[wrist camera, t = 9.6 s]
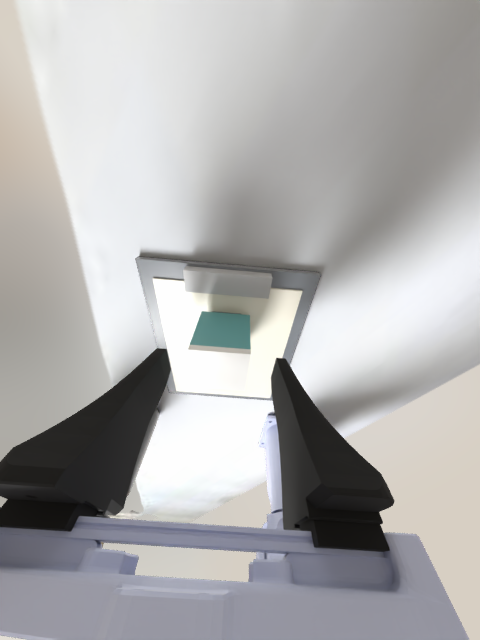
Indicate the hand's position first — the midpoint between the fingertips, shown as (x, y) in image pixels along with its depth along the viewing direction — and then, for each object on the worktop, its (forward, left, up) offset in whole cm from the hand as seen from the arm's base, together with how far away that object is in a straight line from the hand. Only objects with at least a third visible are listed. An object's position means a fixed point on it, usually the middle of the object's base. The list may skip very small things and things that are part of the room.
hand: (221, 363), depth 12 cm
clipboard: (-3, 0, -5) cm, 6 cm away
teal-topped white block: (0, 0, -4) cm, 4 cm away
